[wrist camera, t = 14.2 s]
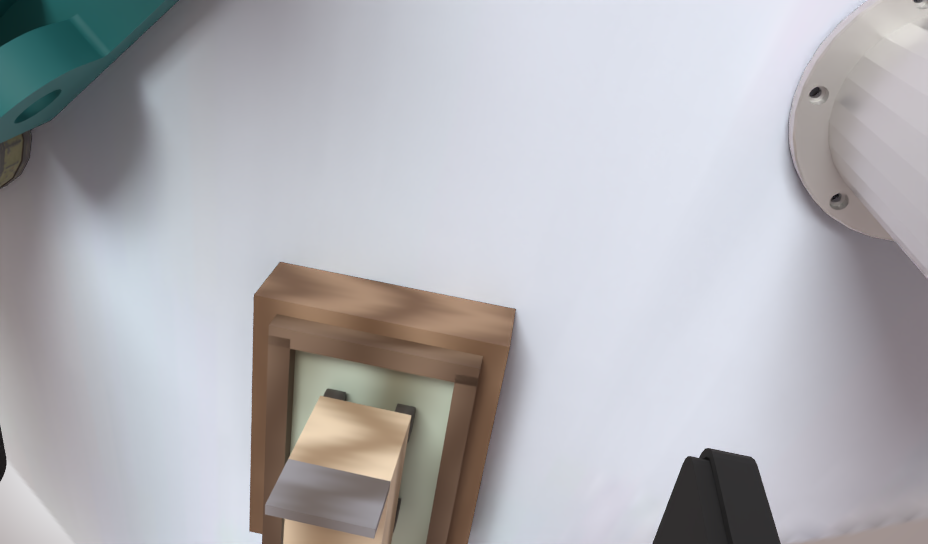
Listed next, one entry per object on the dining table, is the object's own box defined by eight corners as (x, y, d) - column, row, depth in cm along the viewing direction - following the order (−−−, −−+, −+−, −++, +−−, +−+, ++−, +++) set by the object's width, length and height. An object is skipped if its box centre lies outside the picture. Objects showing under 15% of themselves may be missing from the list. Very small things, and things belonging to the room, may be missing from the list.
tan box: (418, 392, 42) (375, 529, 33) (398, 520, 47) (355, 669, 38) (331, 374, 42) (265, 504, 33) (319, 503, 47) (259, 647, 38)
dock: (515, 309, 44) (507, 359, 39) (468, 530, 52) (457, 592, 48) (279, 261, 44) (245, 306, 40) (271, 487, 53) (242, 545, 48)
